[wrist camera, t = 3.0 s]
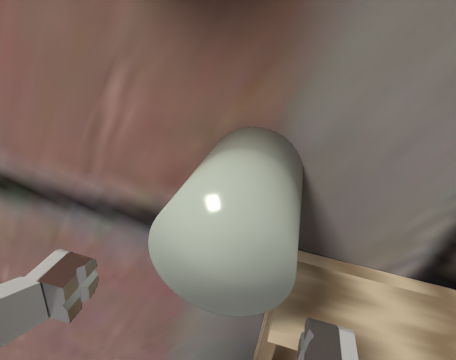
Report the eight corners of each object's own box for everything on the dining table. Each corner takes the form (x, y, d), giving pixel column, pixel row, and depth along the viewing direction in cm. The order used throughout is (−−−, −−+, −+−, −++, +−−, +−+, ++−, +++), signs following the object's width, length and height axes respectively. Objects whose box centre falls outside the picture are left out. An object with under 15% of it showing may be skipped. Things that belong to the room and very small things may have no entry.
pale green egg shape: (314, 137, 18) (314, 218, 10) (291, 221, 21) (278, 333, 14) (214, 118, 19) (147, 179, 12) (206, 201, 22) (149, 293, 15)
